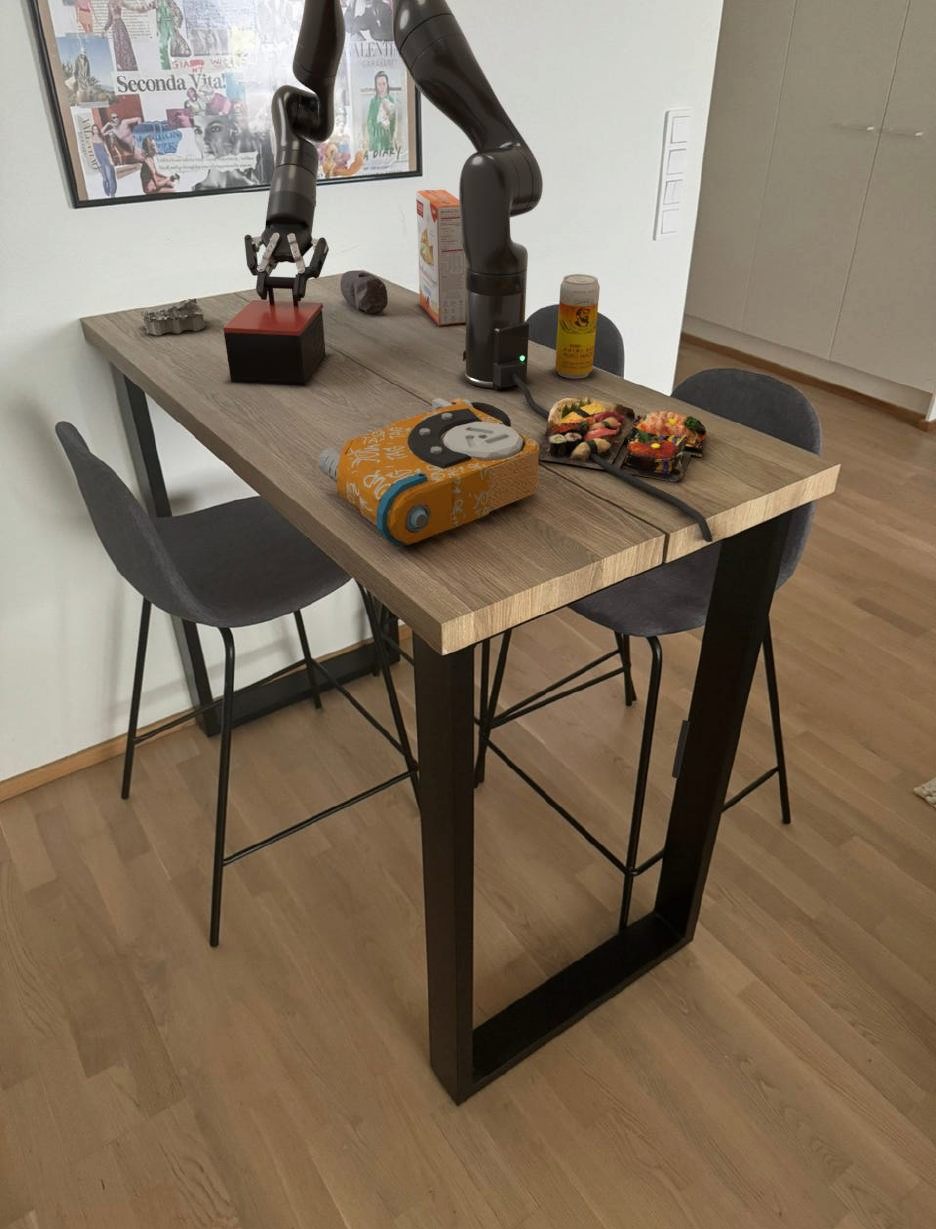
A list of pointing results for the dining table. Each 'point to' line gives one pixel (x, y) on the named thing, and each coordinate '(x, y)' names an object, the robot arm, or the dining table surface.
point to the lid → (274, 313)
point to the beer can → (577, 325)
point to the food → (622, 437)
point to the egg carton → (174, 318)
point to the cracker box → (441, 257)
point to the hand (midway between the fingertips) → (279, 298)
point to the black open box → (276, 355)
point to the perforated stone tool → (364, 291)
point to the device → (434, 470)
